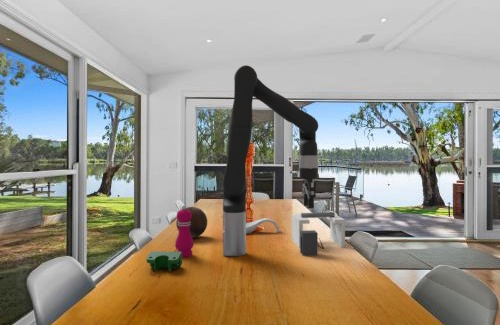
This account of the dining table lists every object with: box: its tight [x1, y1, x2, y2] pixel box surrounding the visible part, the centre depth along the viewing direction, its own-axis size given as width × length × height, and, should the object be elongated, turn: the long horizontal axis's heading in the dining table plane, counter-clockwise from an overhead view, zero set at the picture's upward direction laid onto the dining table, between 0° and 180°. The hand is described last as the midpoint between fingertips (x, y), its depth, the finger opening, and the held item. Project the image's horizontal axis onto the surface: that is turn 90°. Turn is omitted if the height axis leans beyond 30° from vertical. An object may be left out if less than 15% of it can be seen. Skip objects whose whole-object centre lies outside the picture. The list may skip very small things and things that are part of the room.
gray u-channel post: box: [299, 230, 319, 257], centre depth 157 cm, size 6×5×9 cm
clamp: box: [145, 250, 183, 273], centre depth 136 cm, size 12×6×9 cm, turn 80°
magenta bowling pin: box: [174, 205, 195, 258], centre depth 155 cm, size 7×7×20 cm
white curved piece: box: [246, 217, 280, 234], centre depth 203 cm, size 24×12×7 cm, turn 94°
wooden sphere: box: [175, 206, 208, 239], centre depth 189 cm, size 15×15×15 cm
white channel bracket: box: [291, 212, 346, 249], centre depth 177 cm, size 20×18×14 cm
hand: (308, 207), depth 157 cm, fingers open, 8 cm apart
